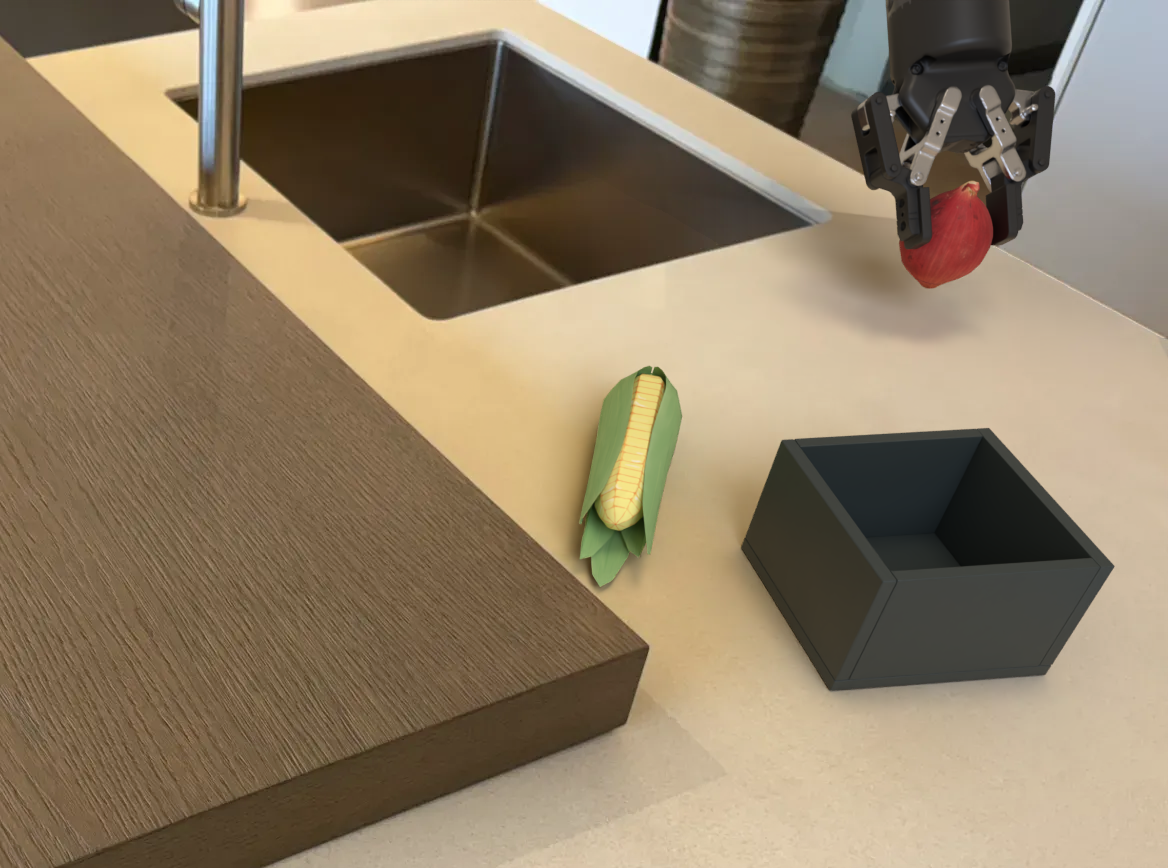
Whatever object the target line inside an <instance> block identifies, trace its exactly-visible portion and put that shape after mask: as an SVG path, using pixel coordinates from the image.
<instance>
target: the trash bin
mask: <svg viewBox="0 0 1168 868" xmlns="http://www.w3.org/2000/svg"><path fill="white" fill-rule="evenodd" d="M740 547H741V550H742V551H743V553H744V554H745V556H746V557H747V559H748V561H749V562H750V564H751V566H752V568H753V569H754V570H755V572H756V574H757V575H758V577H759V579H760V580H761V583H762V584H763V585H764V587H765V588H766V590H767V592H768V594H769V595H770V597H771V598H772V599H773V601H774V603H775V605H776V606H777V608H778V609H779V611H780V613H781V614H782V616H783V618H784V619H785V620H786V622H787V624H788V626H789V627H790V629H791V630H792V632H793V633H794V635H795V637H796V638H797V640H798V642H799V643H800V645H801V647H802V648H803V650H804V651H805V653H806V654H807V656H808V658H809V659H810V661H811V662H812V664H813V665H814V667H815V669H816V671H817V673H818V674H819V676H820V677H821V679H822V681H823V682H824V684H825V685H826V687H827V689H828V690H829V691H830V692H835V691H836V692H837V691H848V690H849V691H850V690H851V691H852V690H863V689H877V688H889V687H890V688H891V687H903V686H916V685H929V684H943V683H956V682H957V683H958V682H969V681H984V680H985V681H986V680H998V679H999V680H1000V679H1009V678H1010V679H1011V678H1023V677H1025V678H1026V677H1036V676H1046V675H1047V673H1048V672H1049V670H1050V668H1051V667H1052V665H1053V664H1054V663H1055V661H1056V659H1057V658H1058V657H1059V655H1060V653H1061V652H1062V650H1063V649H1064V647H1065V646H1066V644H1067V642H1068V641H1069V640H1070V638H1071V636H1072V634H1073V633H1074V632H1075V630H1076V629H1077V626H1078V625H1079V623H1080V622H1081V621H1082V619H1083V617H1084V616H1085V614H1086V613H1087V611H1088V610H1089V608H1090V606H1091V605H1092V603H1093V602H1094V600H1095V598H1096V597H1097V596H1098V594H1099V592H1100V590H1101V589H1102V587H1103V586H1104V584H1105V582H1106V581H1107V580H1108V578H1109V576H1110V575H1111V574H1112V572H1113V570H1114V569H1115V567H1116V566H1115V564H1114V563H1113V562H1112V561H1111V560H1110V559H1109V558H1108V557H1107V556H1106V555H1105V554H1104V552H1103V551H1102V550H1101V549H1100V548H1099V547H1098V546H1097V545H1096V544H1095V542H1094V541H1092V539H1091V538H1090V537H1089V536H1088V535H1087V533H1086V532H1085V531H1084V530H1083V529H1082V528H1081V527H1080V526H1079V525H1078V524H1077V523H1076V522H1075V521H1074V520H1073V519H1072V517H1071V516H1070V515H1069V514H1068V513H1067V512H1066V510H1065V509H1063V507H1062V506H1061V505H1060V503H1058V502H1057V500H1056V499H1055V498H1054V497H1053V496H1052V495H1051V494H1050V493H1049V492H1048V491H1047V490H1046V489H1045V487H1043V485H1042V484H1041V483H1040V482H1039V481H1038V480H1037V479H1036V478H1035V477H1034V476H1033V474H1032V473H1031V472H1030V471H1029V469H1027V467H1026V466H1024V464H1023V463H1022V462H1021V461H1020V460H1019V459H1018V458H1017V456H1016V455H1015V454H1014V453H1013V452H1012V451H1011V450H1010V449H1009V448H1008V447H1007V446H1006V444H1005V443H1004V442H1003V441H1002V440H1001V439H1000V438H999V437H998V436H997V435H996V434H995V433H994V431H992V429H991V428H990V427H981V428H980V427H979V428H964V429H962V428H961V429H945V430H943V429H942V430H927V431H926V430H925V431H924V430H923V431H910V432H909V431H908V432H907V431H905V432H892V433H891V432H889V433H873V434H872V433H871V434H857V435H856V434H853V435H842V436H841V435H839V436H838V435H837V436H822V437H821V436H820V437H819V436H818V437H817V436H816V437H804V438H803V437H802V438H794V439H793V438H789V439H781V440H780V443H779V446H778V449H777V451H776V454H775V456H774V459H773V462H772V464H771V467H770V469H769V472H768V475H767V477H766V480H765V483H764V486H763V488H762V490H761V493H760V496H759V499H758V501H757V504H756V507H755V509H754V512H753V514H752V518H751V520H750V522H749V525H748V528H747V531H746V533H745V537H744V538H743V541H742V543H741V546H740Z"/></svg>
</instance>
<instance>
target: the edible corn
mask: <svg viewBox="0 0 1168 868" xmlns="http://www.w3.org/2000/svg"><path fill="white" fill-rule="evenodd" d="M680 402H681V401H680V397H679V393H678V389H677V388H676V387H675V386H674V384H673V383H672V382H671V380H670V379H669V378H668V376H667V374H666V373H665V372H664V370H663V369H661V367H659V366H654V367H653V366H651V365H647V366H644V367H642V368H640V369H639V370H637V371H635V372H633V373H631V374H629V375H628V376H625V377H623V378H621V379H620V380H619V381H618V382H617V383H616V384H615V385H614V386H613V387H612V389H610V391H609V392H608V393H607V394H606V396H605V397H604V398H603V401H602V405H601V409H600V414H599V421H598V427H597V431H596V432H597V433H596V439H595V445H594V450H593V456H592V460H591V465H590V466H591V467H590V471H589V474H588V475H589V476H588V480H587V484H586V490H585V494H584V499H583V503H582V508H581V512H580V516H579V520H578V521H579V522H578V524H579V525H582V524H583V521H584V517H585V516H586V517H585V522H584V528H583V532H582V537H581V543H580V552H579V560H583V559H588V558H590V561H591V562H590V563H591V575H592V576H593V578H594V580H595V581H596V583H597V585H598V586H599V587H600V588H601V587H603V586H605V585H606V584H608V583H611V582H612V581H613V580H614V579H615V578H616V576H617V574H618V573H619V571H620V570H621V568H622V567H623V565H624V564H625V562H626V561H627V559H628V558H629V556H630V555H629V554H630V553H631V554H632V555H634V556H636V557H637V558H640V556H641V554H642V552H643V550H644V548H645V546H646V554H647V555H649V556H651V554H652V549H653V542H654V538H655V532H656V529H657V528H656V527H657V522H658V517H659V512H660V508H661V503H662V498H663V495H664V491H665V486H666V482H667V478H668V474H669V470H670V467H671V463H672V460H673V458H674V453H675V450H676V446H677V442H678V439H679V434H680V429H681V424H682V420H683V412H682V407H681V403H680Z"/></svg>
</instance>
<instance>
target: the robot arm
mask: <svg viewBox="0 0 1168 868" xmlns="http://www.w3.org/2000/svg"><path fill="white" fill-rule="evenodd" d="M1010 9H1011V8H1010V0H885V10H886V11H885V12H886V14H885V16H886V26H887V27H886V28H887V29H886V30H887V31H886V32H887V43H888V45H887V46H888V61H889V77H890V81H891V83H892V84H893V86H894V87H893V88H894V89H893V91H892V94H889V95H886V94H885V93H883V92H881V91H877V92H873V94H871V95H870V96H869V97H867V98H866V99H865V100H864V101H862V102H861V103H860V104H859V105H857V106H856V107H854V108H853V109H852V110H851V112H850V113H851V114H850V117H851V122H852V126H853V131H854V135H855V136H854V137H855V140H856V145H857V150H858V154H859V157H860V163H861V167H862V171H863V176H864V180H865V186H866V187H867V188H868V189H869V190H871V191H877V190H879V189H881V190H883V191H886V192H889V193H890V194H891V196H892V197H893V198H894V201H895V217H896V218H895V219H896V231H897V233H896V234H897V237H898V239H899V241H904V247H905V249H918V248H920V247H922V246H924V245H925V244H927V243H929V242H930V241H931V238H932V222H931V206H930V199H931V194H930V193H931V192H930V186H927V187H926V186H924V184H926V183H927V180H928V178H929V174H930V172H931V170H932V167H933V164H934V160H935V158H936V157H937V156H938V155H939V154H940V153H943V152H951V153H956V154H964V156H965V159H966V160H967V162H968V165H969V166H970V167H971V168H973V169H977V171H978V172H979V174H980V176H981V178H982V180H983V182H984V184H985V187H986V188H987V191H988V192H989V193H987V194H986V195H985V206H986V208H987V209H988V211H989V214H990V217H991V220H992V225H993V238H992V242H991V246H994V247H995V246H1003V245H1005V244H1007V243H1009V242H1011V241H1013V240H1015V239H1017V237H1018V235H1019V232H1020V231H1022V229H1023V225H1024V210H1023V195H1022V186H1023V183H1024V182H1025V183H1026V182H1027V181H1028V180H1029V179H1032V178H1033V177H1035V176H1036V175H1038V174H1041V173H1043V172H1045V171H1046V170H1048V168H1049V167H1050V162H1051V161H1050V160H1051V150H1052V139H1053V138H1052V137H1053V126H1054V118H1055V117H1054V116H1055V104H1056V91H1055V89H1054V88H1053V87H1052V86H1050V85H1045V86H1043V87H1041V88H1039V89H1037V90H1035V91H1032V90H1024V89H1019V88H1018V89H1017V88H1016V86H1015V83H1014V82H1013V79H1011V77H1010V74H1009V71H1008V66H1009V61H1010V56H1011V54H1012V49H1013V42H1012V41H1013V40H1012V26H1011V12H1010V11H1011V10H1010ZM1008 111H1009V113H1010V118H1009V121H1008V119H1007V117H1006V114H1007V112H1008ZM895 119H896V120H897V122H898V123H899V124H900V126H901V127H902V128H903V129H904V130H905V132H906V134H905V137H904V140H903V143H902V146H901V147H900V148H901V149H900V151H899V148H898V142H897V139H896V134H895V129H894V125H893V123H894V121H895ZM1011 125H1013V126H1014V127H1013V129H1012V127H1011ZM990 139H991V145H990V146H989V147H986V146H985V144H984V143H986V142H987V141H988V140H990ZM991 246H990V247H991Z"/></svg>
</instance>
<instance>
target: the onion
mask: <svg viewBox="0 0 1168 868" xmlns="http://www.w3.org/2000/svg"><path fill="white" fill-rule="evenodd" d="M980 187H981V186H980V182H979V181H975V180H969V181H967V182H965V183H963V184H960V185H959V186H957V187H956V188H954V189H950V190H947V191H943V192H940V193H939V194H937V195H935V196H933V197H930V206H931V222H932V238H931V241H930V242H929V243H927V244H925V245H924V246H922V247H920V248H918V249H905V247H904V241H900V240H899V241H898V247H899V252H900V260H901V263H902V265H903V266H904V268H905V270H906V271H907V272H908V273H909V274H910V275H911V276H912V277H913V278H914V279H915V280H916V282H918V283H919V284H920V286H921V287H922V288H924V289H927V290H929V289H936V288H938V287H940V286H941V285H944V284H947V283H950V282H954V281H956V280H959V279H961V278H963V277H965V276H967V275H970V274H971V273H972V272H973V271H975V269H977V268H978V267H979V266H980V265H981V264H982V262H983V261H984V259H985V258H986V256H987V254H988V252H989V251H990V248H991V242H992V238H993V225H992V220H991V217H990V214H989V211H988V209H987V208H986V203H984V202H983V201H982V200H981V199H980V197H978V192H979V191H980Z"/></svg>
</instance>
